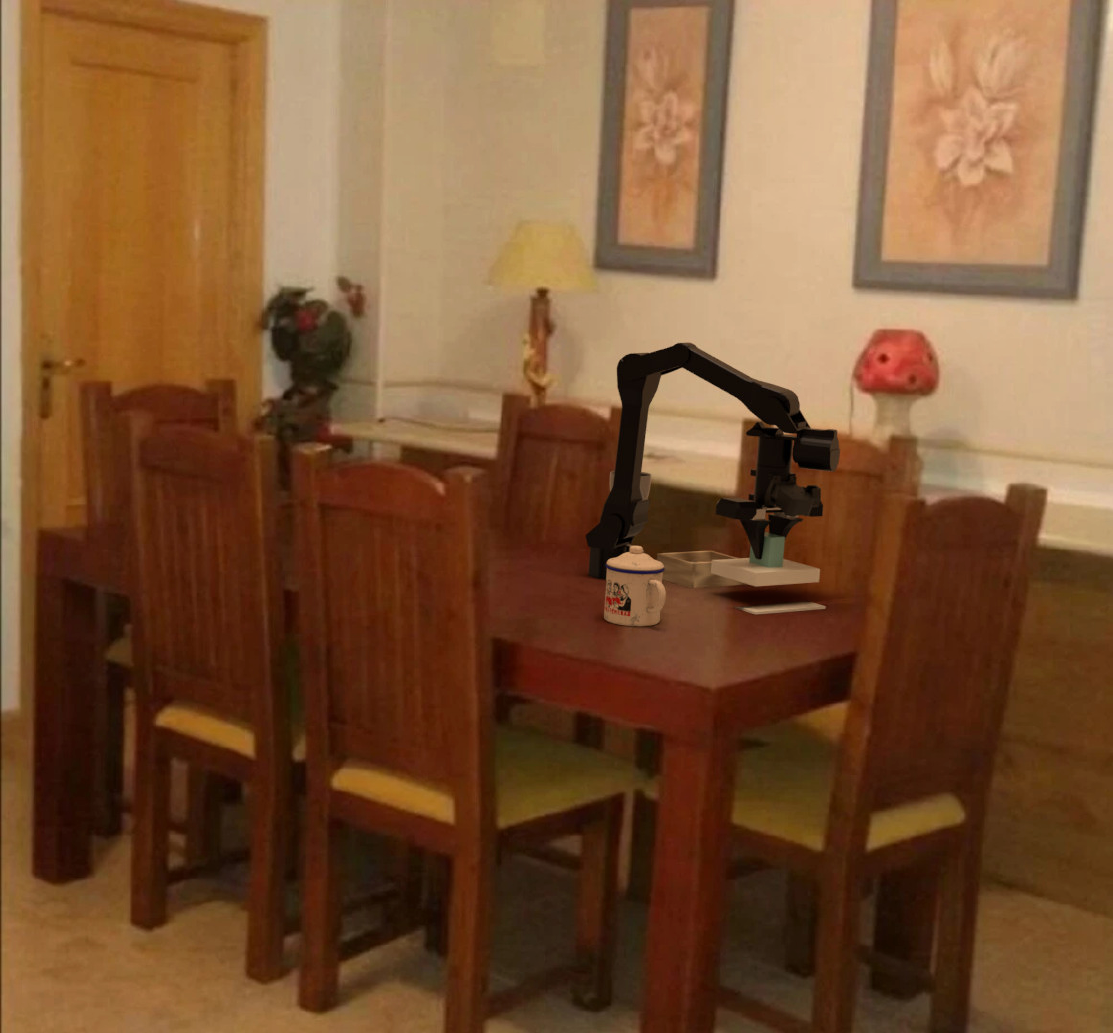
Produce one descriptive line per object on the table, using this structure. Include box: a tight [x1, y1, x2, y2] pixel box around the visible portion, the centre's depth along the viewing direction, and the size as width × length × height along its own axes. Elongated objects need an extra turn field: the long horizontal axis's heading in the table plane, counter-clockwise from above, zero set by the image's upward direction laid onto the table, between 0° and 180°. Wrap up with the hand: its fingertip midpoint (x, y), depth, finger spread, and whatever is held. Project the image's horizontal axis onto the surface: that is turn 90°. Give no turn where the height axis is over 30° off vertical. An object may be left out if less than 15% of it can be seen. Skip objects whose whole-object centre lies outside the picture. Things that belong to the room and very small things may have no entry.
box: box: [656, 550, 746, 589], centre depth 285 cm, size 12×10×5 cm
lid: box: [711, 531, 821, 587], centre depth 271 cm, size 14×12×7 cm
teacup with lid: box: [603, 545, 667, 627], centre depth 251 cm, size 12×9×12 cm
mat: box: [732, 600, 826, 615], centre depth 272 cm, size 15×14×1 cm
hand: (766, 558), depth 271 cm, fingers closed on lid, 3 cm apart
